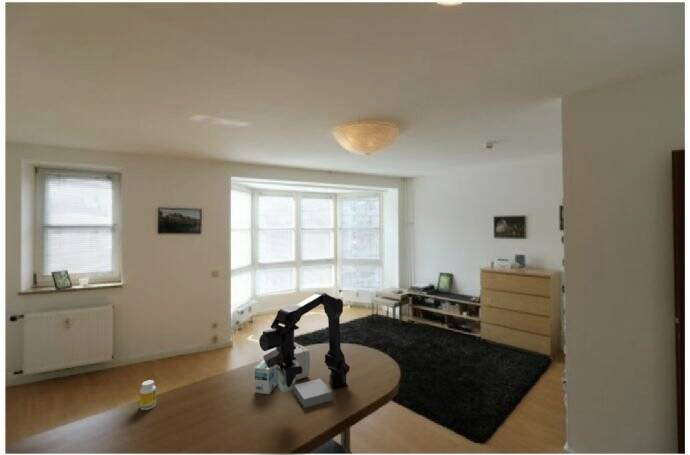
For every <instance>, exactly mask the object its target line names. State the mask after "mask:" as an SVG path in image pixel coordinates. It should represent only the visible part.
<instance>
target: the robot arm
mask: <svg viewBox="0 0 690 455" xmlns="http://www.w3.org/2000/svg"><path fill="white" fill-rule="evenodd" d="M320 305H322V306H323V309H324V310H323V311H324V313H325V316H326V317H327V321H328V323H327V324H328V343H329V344H328V345H329V346H328V348H329V350H328V351H327V353H325V354H324V364H325V366H327V369H328V370H329V371H330V374H329V382H328V383H329V384H330V386H331V387H333V389H335V390H337V389H340V388H344V387H347V386H349V384H348V382H347V374H348V373H350V368H351V367H350V365H348V364H347V362H346V358H345V354H344V352H343V351H342V349H341V348H342V347H341V324H340V323H341V320H340V317H341V316H342V314H343V311H344V310H343V309H344V301H343V300H342V299H341V298H338V297H333V296H332V295H329V294H328V293H326V292H322V291H316V292H315V293H314V294H312V295H311V296H309V297H308V298H305V299H304V300H302V301H301V302H299V303H297V304H295V305H289V306H285V307H282V308H280V309H279V310H278V311H277V313H276V316H275V318H274V320H273V322H272V324H271V325H270V329H266V330H263V331H262V334H261V335H260V337H259V338H258V339H259V340H258V343H259V347H260V349H261V350H262V351H263V352H267V351H270V350H271V351H270V352H268V353H267V354H264V355H263V356H262V358H263V360H264V361H265V363H266V365H267V367H268V368H271V367H273V366H275V365H276V364H277V365H278V366H280V369H279V370H283V371H282V372H283V374H284V375H285V376H286V382H287V387H290V386H291V384H292V382H293V380H294V378H295V376H296V375H297V374H302V366H301V365H300V364H299V363H298V362H294V363H293V360H296V357H295V355H294V349H296V346H295V345H294V342H295V331H296V330H299V329H300V327H299V326H298V325H297V323H298V322H300V321H301V318H302V317H304V315H305V314H307V313H309V312H311V311H312V310H313V309H316V308H317V307H319V306H320ZM280 324H281V325H280ZM282 325H283V326H282ZM276 347H277V349H276ZM272 349H274V350H272Z"/></svg>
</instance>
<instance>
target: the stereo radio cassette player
mask: <svg viewBox="0 0 690 455" xmlns="http://www.w3.org/2000/svg"><path fill="white" fill-rule="evenodd" d="M294 345H295V346H296V349H294V355H295V357H296V360H293V363H294V362H298V363H299V364H300V365H301V366H302V374H297V375H296V376H295V382H296V381H298V380H301V379H305V378H307V377H308V376H310V369H311V368H310V367H311V362H310V361H311V354H310V350H309V349H307V348H306V347H304V346H302V345H300V344H299V343H297V342H295V341H294ZM276 349H277V347H276V348H275V350H276ZM278 370H280V366H278Z"/></svg>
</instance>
